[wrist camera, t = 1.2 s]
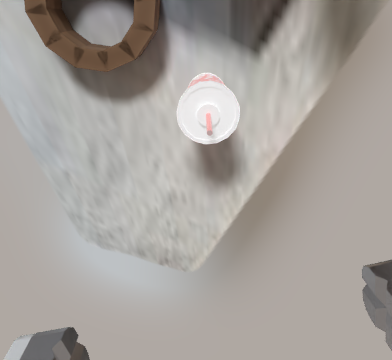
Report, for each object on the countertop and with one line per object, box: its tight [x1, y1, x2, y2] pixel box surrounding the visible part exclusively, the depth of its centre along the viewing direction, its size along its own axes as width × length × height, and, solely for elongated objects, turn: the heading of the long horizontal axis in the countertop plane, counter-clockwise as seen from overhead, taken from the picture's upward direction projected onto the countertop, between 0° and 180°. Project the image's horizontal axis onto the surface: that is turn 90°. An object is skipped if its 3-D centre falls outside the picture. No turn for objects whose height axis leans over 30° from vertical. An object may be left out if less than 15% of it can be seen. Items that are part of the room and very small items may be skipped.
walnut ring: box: [24, 0, 160, 72], centre depth 32 cm, size 12×12×4 cm
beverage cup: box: [176, 73, 240, 144], centre depth 32 cm, size 6×6×14 cm
